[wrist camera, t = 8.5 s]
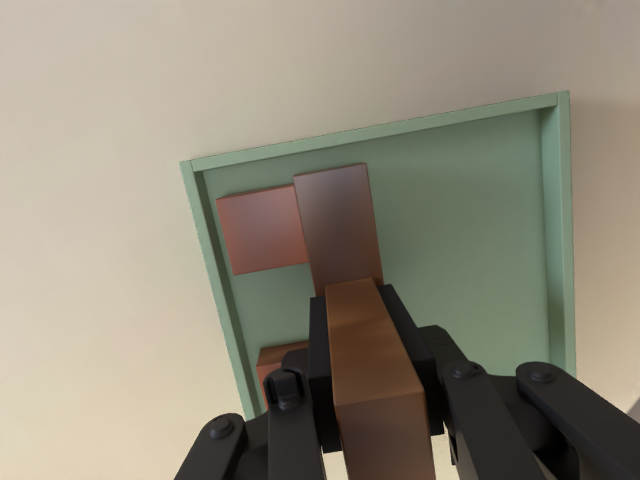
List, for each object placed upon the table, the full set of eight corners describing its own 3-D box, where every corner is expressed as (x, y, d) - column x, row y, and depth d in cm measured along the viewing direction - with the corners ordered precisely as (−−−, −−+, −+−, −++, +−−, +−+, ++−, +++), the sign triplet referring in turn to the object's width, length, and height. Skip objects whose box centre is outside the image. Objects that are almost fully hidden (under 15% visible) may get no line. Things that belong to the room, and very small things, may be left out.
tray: (544, 96, 20) (570, 89, 18) (555, 379, 23) (577, 399, 22) (191, 161, 20) (178, 162, 18) (258, 428, 24) (254, 453, 22)
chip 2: (326, 336, 22) (327, 354, 20) (337, 394, 23) (339, 417, 21) (260, 348, 22) (255, 366, 20) (274, 405, 23) (270, 428, 21)
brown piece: (360, 161, 19) (422, 171, 8) (394, 391, 23) (473, 625, 11) (295, 173, 20) (268, 199, 8) (338, 401, 23) (361, 641, 12)
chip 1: (296, 181, 20) (294, 184, 18) (310, 252, 21) (309, 262, 19) (223, 195, 20) (214, 199, 18) (240, 264, 21) (233, 276, 19)
